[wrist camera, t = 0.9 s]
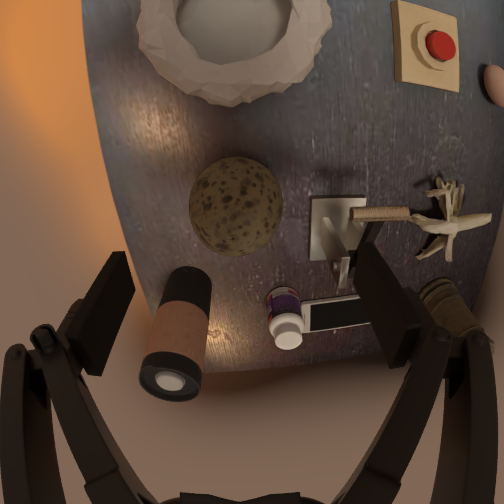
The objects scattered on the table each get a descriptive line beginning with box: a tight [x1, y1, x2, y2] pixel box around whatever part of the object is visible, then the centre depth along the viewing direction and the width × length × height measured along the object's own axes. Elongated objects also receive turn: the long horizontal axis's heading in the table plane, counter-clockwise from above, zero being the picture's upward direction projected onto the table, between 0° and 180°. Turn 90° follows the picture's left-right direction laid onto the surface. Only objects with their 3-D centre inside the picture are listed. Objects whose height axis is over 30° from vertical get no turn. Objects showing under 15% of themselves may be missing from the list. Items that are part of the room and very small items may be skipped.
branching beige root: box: [408, 176, 492, 262], centre depth 41 cm, size 9×16×15 cm
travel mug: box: [139, 267, 212, 402], centre depth 41 cm, size 8×8×20 cm
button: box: [426, 31, 456, 60], centre depth 26 cm, size 4×4×2 cm
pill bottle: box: [267, 287, 304, 349], centre depth 47 cm, size 5×5×10 cm
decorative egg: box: [189, 157, 283, 257], centre depth 35 cm, size 11×11×15 cm
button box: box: [391, 0, 459, 93], centre depth 28 cm, size 12×10×4 cm
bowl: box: [136, 0, 332, 107], centre depth 25 cm, size 21×20×10 cm
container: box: [419, 278, 495, 355], centre depth 45 cm, size 9×9×18 cm
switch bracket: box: [308, 195, 382, 288], centre depth 39 cm, size 10×8×12 cm
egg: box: [484, 65, 504, 107], centre depth 29 cm, size 5×5×7 cm
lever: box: [347, 206, 410, 278], centre depth 32 cm, size 12×6×2 cm, turn 3°
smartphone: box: [301, 294, 371, 333], centre depth 53 cm, size 7×15×1 cm, turn 96°
